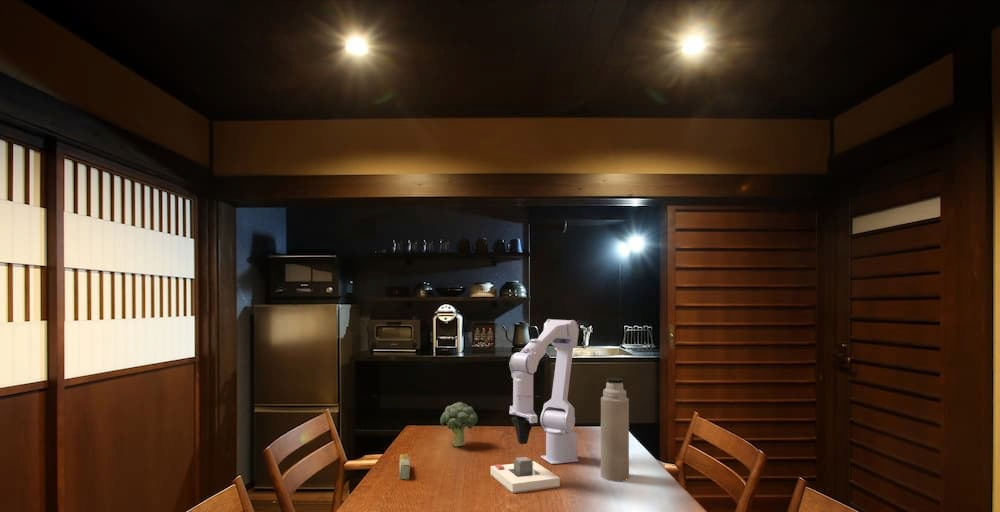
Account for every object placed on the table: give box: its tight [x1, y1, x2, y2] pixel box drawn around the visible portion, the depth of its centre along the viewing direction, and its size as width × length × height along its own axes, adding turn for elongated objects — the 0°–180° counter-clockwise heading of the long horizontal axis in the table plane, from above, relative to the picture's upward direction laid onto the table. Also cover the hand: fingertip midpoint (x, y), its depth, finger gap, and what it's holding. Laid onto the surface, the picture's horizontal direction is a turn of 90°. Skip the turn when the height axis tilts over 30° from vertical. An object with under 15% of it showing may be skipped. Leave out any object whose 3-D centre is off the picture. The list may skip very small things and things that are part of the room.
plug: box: [513, 456, 533, 477], centre depth 159 cm, size 4×4×6 cm
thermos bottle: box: [600, 377, 630, 482], centre depth 164 cm, size 8×8×28 cm
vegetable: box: [439, 401, 479, 447], centre depth 194 cm, size 12×13×15 cm
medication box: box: [398, 453, 411, 480], centre depth 165 cm, size 12×3×4 cm, turn 12°
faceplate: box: [489, 460, 561, 494], centre depth 159 cm, size 14×16×3 cm
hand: (522, 443), depth 161 cm, fingers closed
